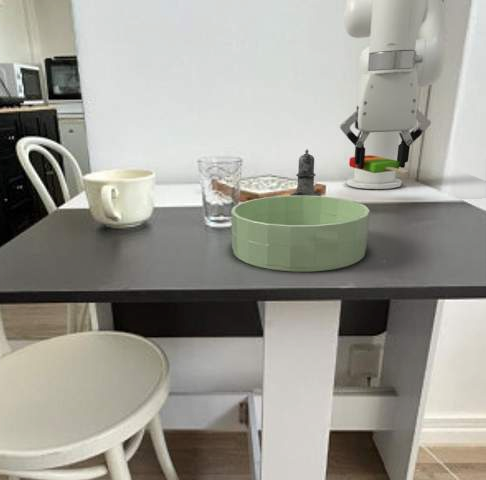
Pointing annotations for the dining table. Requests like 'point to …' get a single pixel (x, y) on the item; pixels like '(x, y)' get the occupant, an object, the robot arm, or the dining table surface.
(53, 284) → the dining table surface
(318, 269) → the bowl
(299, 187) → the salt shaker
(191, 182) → the dining table surface
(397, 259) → the dining table surface
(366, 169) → the popsicle
